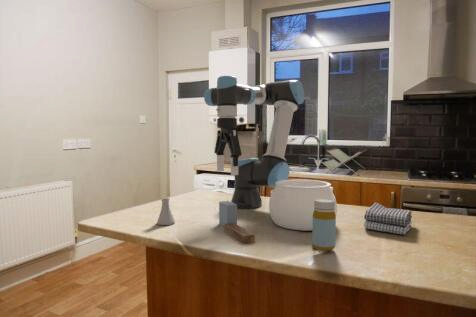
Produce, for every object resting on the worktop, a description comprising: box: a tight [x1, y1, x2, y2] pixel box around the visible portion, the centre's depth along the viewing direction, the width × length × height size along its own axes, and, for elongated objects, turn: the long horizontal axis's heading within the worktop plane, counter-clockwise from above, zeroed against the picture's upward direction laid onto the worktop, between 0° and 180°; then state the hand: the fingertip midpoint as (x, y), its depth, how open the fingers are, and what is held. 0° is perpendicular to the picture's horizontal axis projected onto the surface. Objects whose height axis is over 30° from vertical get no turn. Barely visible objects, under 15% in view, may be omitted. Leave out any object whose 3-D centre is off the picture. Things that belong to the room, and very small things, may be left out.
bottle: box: [311, 199, 337, 252], centre depth 104 cm, size 7×7×15 cm
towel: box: [363, 202, 413, 235], centre depth 128 cm, size 15×18×8 cm
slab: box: [218, 200, 238, 228], centre depth 130 cm, size 4×8×9 cm, turn 26°
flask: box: [156, 197, 176, 226], centre depth 133 cm, size 7×7×10 cm
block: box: [224, 223, 256, 244], centre depth 116 cm, size 4×16×2 cm, turn 26°
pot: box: [268, 178, 338, 232], centre depth 133 cm, size 29×26×16 cm
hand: (227, 173), depth 129 cm, fingers open, 13 cm apart
